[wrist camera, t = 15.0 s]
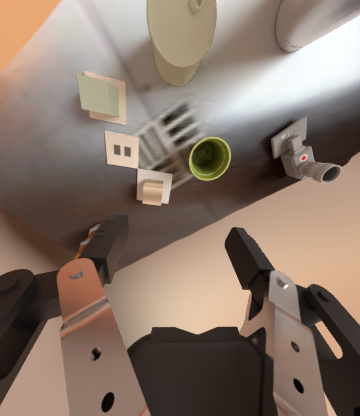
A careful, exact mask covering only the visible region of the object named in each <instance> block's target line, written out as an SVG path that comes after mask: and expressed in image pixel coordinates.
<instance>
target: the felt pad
mask: <svg viewBox="0 0 360 416" xmlns="http://www.w3.org/2000/svg"><path fill="white" fill-rule="evenodd" d="M172 177H173V174H170V173H164V172H158V171H152V170H145V169H139V168H138V176H137V200H143V186H144V184H145V181H146V179H153V180H160V181H163V192H162V200H161V203H167V204H168V201H169V195H170V189H171V183H172Z"/></svg>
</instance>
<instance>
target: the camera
mask: <svg viewBox="0 0 360 416" xmlns="http://www.w3.org/2000/svg"><path fill="white" fill-rule="evenodd" d="M306 126H307V115H305V116H303V117H302V118H300V119H299V120H298V121H296V122H295V123H293V124H292V125H290V126H289V127H288V128H286V129H285V130H283V131H282V132H280V133H279V134H278V135H276V136H275V137H273V138H272V139H271V145H272V151H273V158H274V159H275V158H277V157H279V156H280V155H281V160H282V163H283V166H284V169H285V172H286V174H287V175H290V176H292V177H294V178H298V179H300V180H302V179H304V178H306V177H307V176H309V177H311V178H313V179H314V180H316V181H319V182H322V183H325V184H328V183H331V182H333V181H334V180H336V179H337V178H338V177H339V175H340V174H341V171H342V168H341V167H340V166H338V165H334V164H329V163H319V162H315V161H314V157H313V152H312V147H310V146H303V145H302V141H303V140H305V139H306ZM289 149H290V150H289Z"/></svg>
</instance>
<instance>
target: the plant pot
mask: <svg viewBox="0 0 360 416" xmlns="http://www.w3.org/2000/svg"><path fill="white" fill-rule="evenodd" d="M201 143H202V145H199V144H201ZM198 145H199V146H198ZM209 148H210V149H211V153H210V150H209ZM193 153H194V157H195V158H193ZM201 153H203V154H201ZM230 159H231V153H230V149H229V146H228V145H227V143H226V142H225V141H223V140H222V139H220V138H218V137H208V138H205V139H203V140H201V141H199V142H198V143H196V144H195V145H194V146H193V148H192V150H191V153H190V157H189V166H190V170H191V172H192V173H193V175H194V176H195V177H197V178H198V179H201V180H206V181H208V180H213V179H216V178H218V177H219V176H221V175H222V174H223V173H224V172H225V171H226V169H227V168H228V166H229V163H230ZM205 160H206V161H205ZM201 161H205V162H203V163H201Z"/></svg>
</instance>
